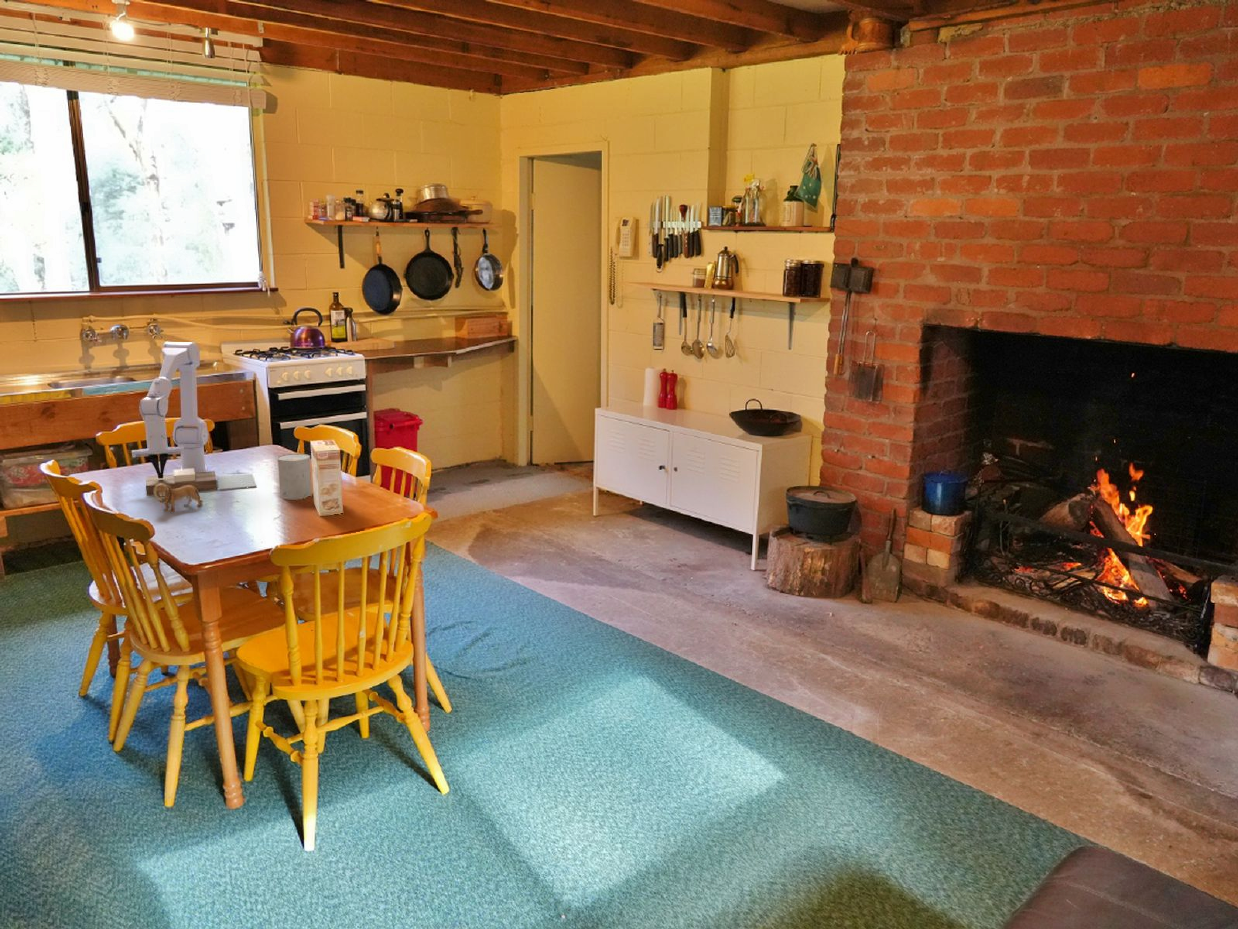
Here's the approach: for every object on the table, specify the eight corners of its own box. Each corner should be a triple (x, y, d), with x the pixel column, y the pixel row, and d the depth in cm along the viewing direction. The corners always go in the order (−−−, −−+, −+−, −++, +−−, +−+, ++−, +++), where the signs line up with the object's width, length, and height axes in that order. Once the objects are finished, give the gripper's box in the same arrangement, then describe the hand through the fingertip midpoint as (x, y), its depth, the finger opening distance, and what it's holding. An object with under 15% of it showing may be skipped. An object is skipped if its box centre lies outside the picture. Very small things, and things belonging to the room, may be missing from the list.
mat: (216, 478, 308) (216, 476, 308) (252, 475, 312) (252, 473, 312) (219, 490, 294) (219, 489, 294) (256, 487, 298) (256, 485, 298)
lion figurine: (161, 516, 267) (158, 486, 264) (151, 513, 269) (148, 483, 267) (208, 505, 279) (205, 476, 276) (197, 502, 281) (195, 473, 279)
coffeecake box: (344, 514, 273) (340, 449, 268) (318, 516, 270) (314, 451, 265) (337, 500, 286) (334, 438, 281) (313, 503, 283) (309, 440, 278)
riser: (147, 485, 297) (146, 476, 297) (215, 479, 306) (214, 471, 305) (146, 495, 287) (145, 486, 286) (217, 489, 295) (216, 480, 295)
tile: (174, 475, 298) (173, 469, 298) (194, 474, 301) (194, 468, 300) (174, 482, 291) (173, 475, 291) (195, 480, 294) (194, 474, 293)
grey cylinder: (275, 494, 291) (273, 455, 288) (306, 489, 297) (303, 452, 294) (285, 501, 284) (283, 462, 281) (316, 496, 290) (314, 458, 287)
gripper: (129, 439, 283) (134, 482, 286) (182, 436, 289) (186, 478, 293) (130, 435, 289) (135, 477, 293) (181, 431, 295) (185, 473, 299)
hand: (160, 477), depth 293 cm, fingers closed
